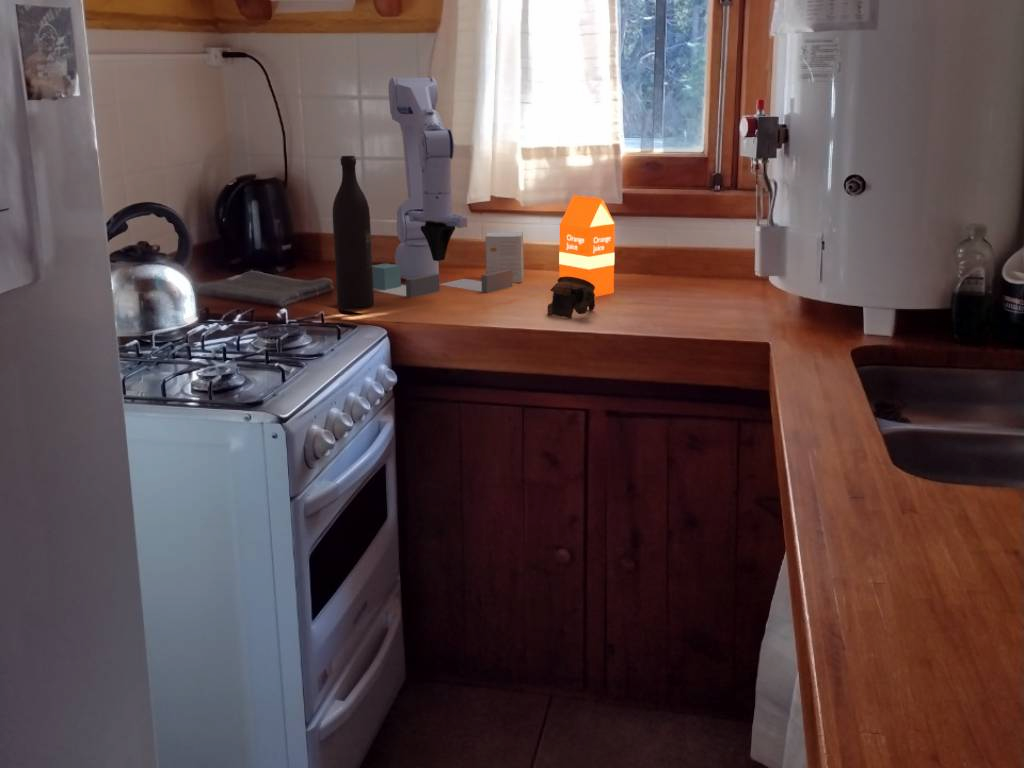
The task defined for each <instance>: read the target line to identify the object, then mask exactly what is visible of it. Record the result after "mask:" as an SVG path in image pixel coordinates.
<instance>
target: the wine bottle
mask: <svg viewBox="0 0 1024 768" xmlns="http://www.w3.org/2000/svg"><path fill="white" fill-rule="evenodd" d="M339 160H340V165H341V172H342V173H341V174H342V175H341V183H340V185H339V188H338V190H337V193H336V194H335V197H334V200H333V205H332V228H333V230H332V231H333V245H334V263H335V264H334V265H335V280H336V297H337V298H336V299H337V310H338V313H339V314H342V315H345V316H364V313H363V312H357V311H352V310H365V309H369V308H373V307H374V306H375V299H374V298H375V297H374V292H375V291H373V272H372V266H373V255H372V253H373V252H372V234H371V214H370V207H369V203H368V200H367V197H366V196H365V193H364V192H363V190H362V189H361V186H360V185H359V183H358V180H357V173H356V165H357V158H356V156H355V155H341V158H340V159H339Z"/></svg>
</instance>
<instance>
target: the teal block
mask: <svg viewBox="0 0 1024 768" xmlns="http://www.w3.org/2000/svg"><path fill="white" fill-rule="evenodd" d="M372 272H373V288H377V289H383V290H387V289H392V288H397V287H401V284H402V283H401V282H402V278H401V276H400V266H399V265H395V264H393V263H391V264H390V263H381V264H375V265H372Z"/></svg>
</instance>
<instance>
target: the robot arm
mask: <svg viewBox="0 0 1024 768" xmlns="http://www.w3.org/2000/svg"><path fill="white" fill-rule="evenodd" d="M438 93H439V92H438V84H437V80H436V79H435V77H433V76H429V77H391V78H390V79H389V82H388V101H389V103H388V104H389V112H390V115H391V119H392V120H393V121H395V122H397V123H399V126H400V130H401V134H402V144H403V145H402V146H403V155H404V166H405V177H406V178H405V179H406V186H407V187H406V188H407V199H406V200H404V202H402V203H401V204H400V205H399V206H398V209H397V211H396V231H397V237H398V240H399V241H400V243H399V244H398V246H397V247H396V250H395V252H394V260H395V261H394V263H395V264H394V265H399V266H400V276H401V279H404V280H406V279H410V278H415V277H420V276H425V275H429V274H439V275H440V272H439V271H440V270H439V266H440V265H439V261H445V259H446V254H447V249H448V245H449V242H450V240H451V238H452V235H453V234H454V232H455V230H456V228H457V229H458V228H459V229H462V228H468V217H467V216H462V215H459V214H455V213H453V211H452V209H453V208H452V207H453V206H452V205H453V203H452V174H451V173H452V172H451V171H452V168H451V167H452V166H451V165H452V164H451V160H453V157H454V150H455V143H454V136H453V133H452V130H451V129H450V128H445V126H444V123H443V120H442V117H441V115H440V113H439V112H438V111H436V107H437V103H438V98H439V97H438Z"/></svg>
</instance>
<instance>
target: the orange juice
mask: <svg viewBox="0 0 1024 768" xmlns="http://www.w3.org/2000/svg"><path fill="white" fill-rule="evenodd" d="M615 225H616V223H615V221H614V219H613V218H612V215H611V213H610V212H609V209H608V207H607V205H606V203H605V201H604V199H603V198H599V197H592V196H591V197H590V196H583V195H582V196H581V195H572V197H571V200H570V201H569V204H568V206H567V209H566V210H565V213H564V215H563V216H562V218H561V221H560V223H559V252H558V253H559V254H558V256H559V257H558V261H559V262H558V265H559V267H558V268H559V270H558V271H559V276H558V277H559V278H560V277H565V276H569V277H576V278H580V279H584V280H586V281H589V282H590V283H592V284H593V285H594V286H595V290H594V294H595V297H594V298H596V297H600V296H605V295H610V294H614V290H615V289H614V285H615V283H614V281H615V254H616V253H615V239H616V238H615V236H616V235H615V234H616V233H615V231H616V229H615V227H616V226H615ZM559 278H558V279H559Z"/></svg>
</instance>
